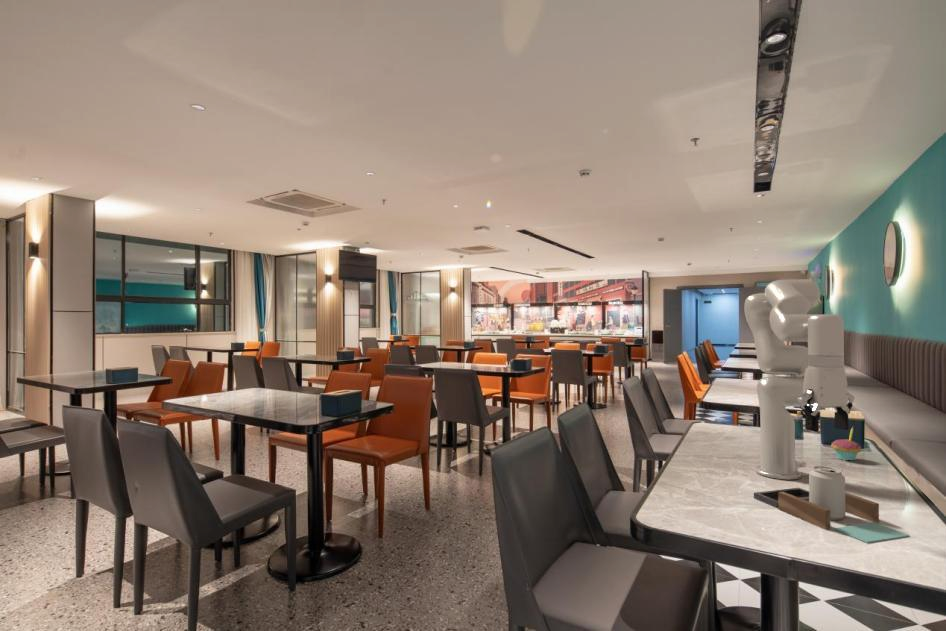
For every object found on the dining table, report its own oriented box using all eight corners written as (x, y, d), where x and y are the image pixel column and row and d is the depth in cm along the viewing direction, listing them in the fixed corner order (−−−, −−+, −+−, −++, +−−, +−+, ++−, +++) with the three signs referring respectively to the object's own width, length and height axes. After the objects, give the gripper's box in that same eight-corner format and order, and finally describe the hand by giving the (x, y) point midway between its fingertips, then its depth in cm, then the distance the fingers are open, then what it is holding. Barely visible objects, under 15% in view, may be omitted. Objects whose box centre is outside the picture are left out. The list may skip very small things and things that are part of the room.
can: (847, 523, 120) (846, 474, 121) (810, 517, 124) (809, 469, 125) (843, 513, 127) (843, 467, 127) (808, 507, 131) (808, 462, 131)
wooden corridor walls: (828, 503, 134) (828, 486, 134) (879, 521, 122) (878, 503, 122) (778, 509, 130) (778, 492, 130) (825, 529, 117) (825, 510, 117)
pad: (875, 523, 121) (875, 522, 121) (909, 536, 113) (909, 535, 113) (834, 529, 117) (834, 528, 117) (866, 543, 110) (866, 541, 110)
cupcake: (859, 458, 177) (859, 425, 178) (862, 464, 170) (862, 429, 170) (830, 455, 182) (830, 422, 182) (832, 460, 175) (831, 426, 175)
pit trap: (798, 492, 142) (798, 487, 142) (823, 501, 135) (823, 496, 135) (753, 498, 138) (753, 492, 138) (776, 507, 131) (776, 502, 131)
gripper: (837, 361, 132) (838, 425, 131) (786, 362, 127) (786, 428, 127) (866, 363, 125) (867, 431, 124) (813, 364, 120) (814, 434, 120)
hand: (826, 429), depth 125 cm, fingers open, 9 cm apart
